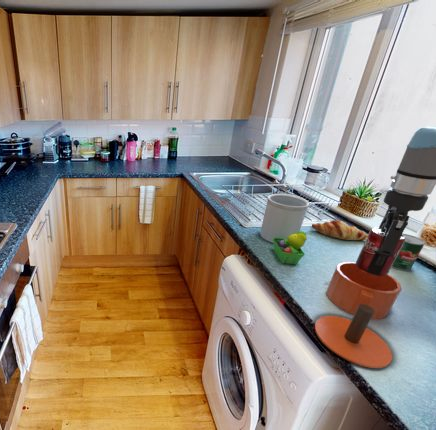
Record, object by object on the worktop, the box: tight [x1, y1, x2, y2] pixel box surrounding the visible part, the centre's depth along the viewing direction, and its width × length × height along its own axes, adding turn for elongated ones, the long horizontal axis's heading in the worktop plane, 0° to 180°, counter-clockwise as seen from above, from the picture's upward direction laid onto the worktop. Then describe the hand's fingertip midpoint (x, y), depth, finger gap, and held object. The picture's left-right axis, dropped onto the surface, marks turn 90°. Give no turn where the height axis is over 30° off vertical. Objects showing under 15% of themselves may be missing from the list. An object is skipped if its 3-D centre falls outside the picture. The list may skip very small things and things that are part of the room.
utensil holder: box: [259, 193, 310, 244], centre depth 119 cm, size 15×15×18 cm
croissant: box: [311, 219, 368, 241], centre depth 124 cm, size 21×10×8 cm, turn 65°
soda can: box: [355, 227, 405, 277], centre depth 79 cm, size 7×7×12 cm
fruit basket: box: [273, 230, 308, 265], centre depth 106 cm, size 11×9×11 cm
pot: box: [326, 261, 402, 321], centre depth 85 cm, size 15×20×10 cm
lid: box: [313, 304, 393, 369], centre depth 71 cm, size 16×16×11 cm
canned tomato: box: [391, 233, 426, 272], centre depth 103 cm, size 8×8×11 cm
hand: (372, 266), depth 81 cm, fingers closed on soda can, 7 cm apart
